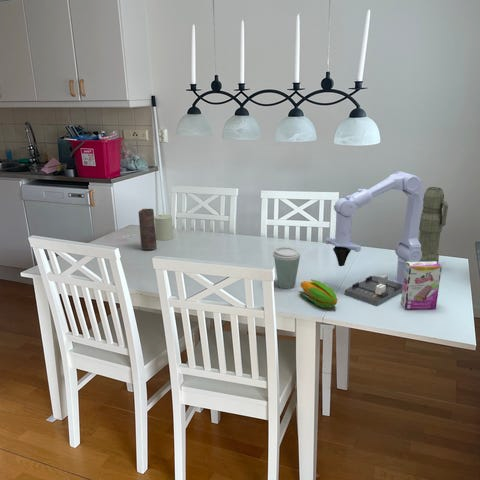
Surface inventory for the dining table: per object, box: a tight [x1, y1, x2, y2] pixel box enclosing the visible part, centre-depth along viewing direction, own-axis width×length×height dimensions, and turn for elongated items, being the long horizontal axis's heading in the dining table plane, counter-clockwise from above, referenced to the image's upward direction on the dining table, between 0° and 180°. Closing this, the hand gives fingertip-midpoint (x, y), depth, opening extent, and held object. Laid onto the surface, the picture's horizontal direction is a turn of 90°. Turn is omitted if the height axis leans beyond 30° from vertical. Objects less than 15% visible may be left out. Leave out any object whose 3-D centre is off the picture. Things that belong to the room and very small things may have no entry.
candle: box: [138, 208, 157, 250], centre depth 234 cm, size 8×7×20 cm
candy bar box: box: [400, 261, 443, 311], centre depth 168 cm, size 11×5×16 cm, turn 92°
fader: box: [378, 273, 389, 285], centre depth 185 cm, size 3×2×3 cm
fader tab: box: [375, 284, 386, 295], centre depth 176 cm, size 3×2×3 cm
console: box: [343, 275, 403, 307], centre depth 183 cm, size 20×14×3 cm
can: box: [154, 213, 174, 241], centre depth 252 cm, size 9×9×12 cm
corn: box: [299, 279, 339, 309], centre depth 176 cm, size 7×8×20 cm
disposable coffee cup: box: [272, 246, 301, 290], centre depth 188 cm, size 11×11×15 cm
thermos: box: [418, 186, 449, 263], centre depth 200 cm, size 9×12×35 cm
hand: (341, 265), depth 183 cm, fingers closed
